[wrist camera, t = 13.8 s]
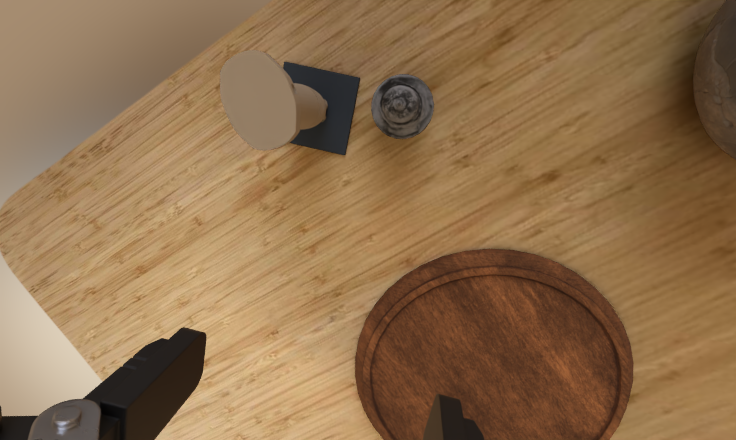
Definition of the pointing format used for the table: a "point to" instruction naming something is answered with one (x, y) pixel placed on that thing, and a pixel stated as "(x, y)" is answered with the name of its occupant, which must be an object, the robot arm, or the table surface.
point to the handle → (267, 101)
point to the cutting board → (495, 350)
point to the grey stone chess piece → (402, 106)
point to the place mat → (338, 113)
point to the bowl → (718, 79)
